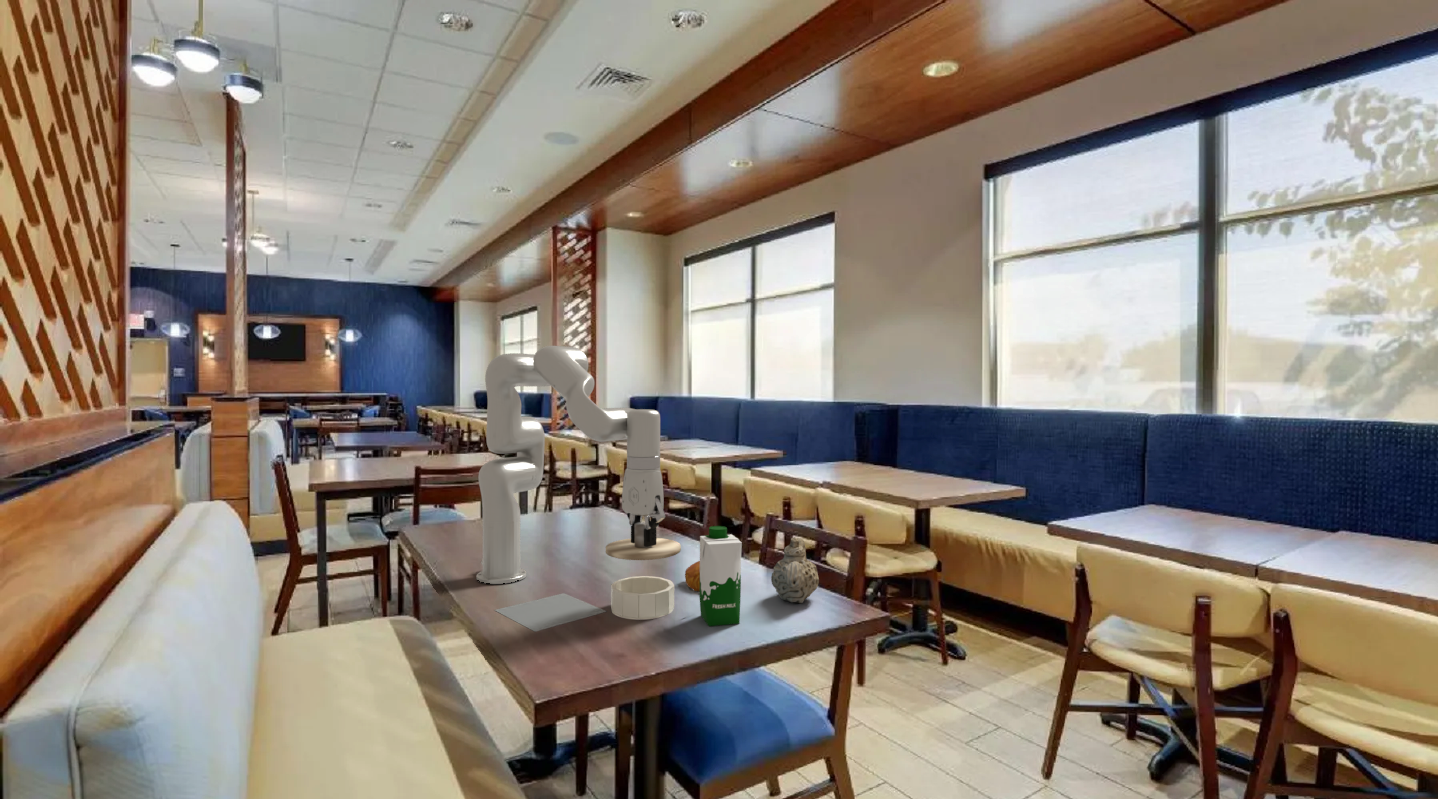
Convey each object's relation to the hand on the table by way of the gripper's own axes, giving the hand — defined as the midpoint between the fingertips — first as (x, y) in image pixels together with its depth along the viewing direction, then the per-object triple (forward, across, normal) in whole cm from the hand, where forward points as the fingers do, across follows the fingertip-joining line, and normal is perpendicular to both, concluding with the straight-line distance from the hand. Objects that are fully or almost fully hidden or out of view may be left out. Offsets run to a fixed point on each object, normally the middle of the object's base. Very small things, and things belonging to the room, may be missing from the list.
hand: (643, 543), depth 155 cm
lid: (+2, 0, 0) cm, 2 cm away
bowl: (+16, 0, 0) cm, 16 cm away
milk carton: (+16, +16, +9) cm, 24 cm away
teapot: (+16, +18, +33) cm, 40 cm away
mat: (+15, -13, -16) cm, 26 cm away
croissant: (+16, -4, +26) cm, 30 cm away
